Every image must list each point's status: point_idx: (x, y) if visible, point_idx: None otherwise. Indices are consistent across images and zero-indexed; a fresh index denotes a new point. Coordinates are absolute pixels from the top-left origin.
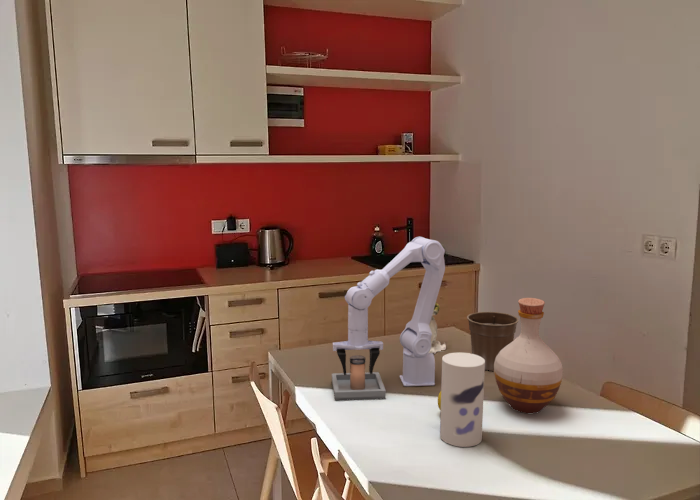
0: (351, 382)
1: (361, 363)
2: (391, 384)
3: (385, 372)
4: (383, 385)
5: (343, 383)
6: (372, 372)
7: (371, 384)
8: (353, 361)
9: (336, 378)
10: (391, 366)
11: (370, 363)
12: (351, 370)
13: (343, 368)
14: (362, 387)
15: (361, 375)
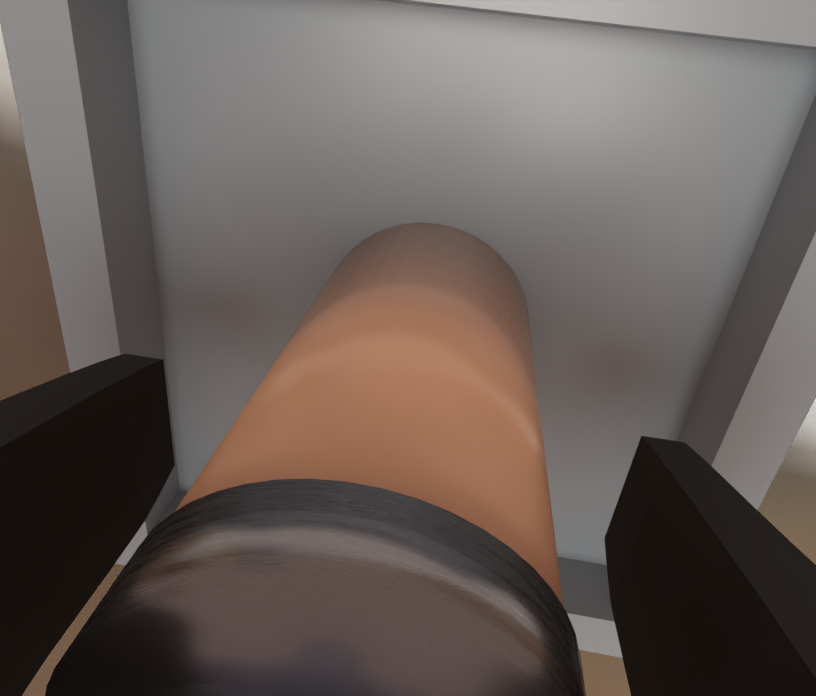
0: (526, 334)
1: (241, 503)
2: (21, 363)
3: (89, 610)
4: (24, 129)
5: (570, 471)
6: (100, 362)
7: (233, 364)
8: (520, 642)
9: None
10: (42, 684)
11: (22, 537)
12: (542, 466)
13: (777, 531)
14: (368, 243)
15: (341, 323)
